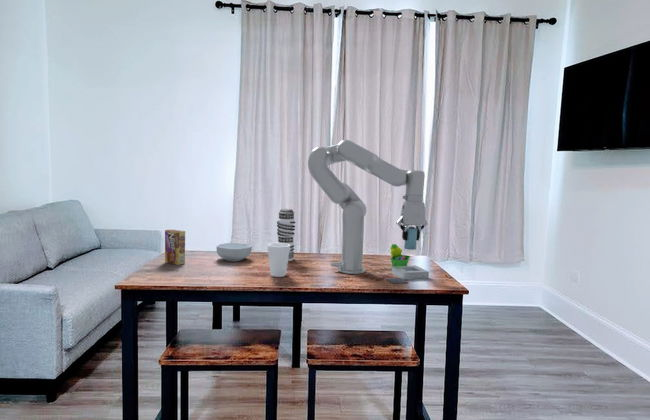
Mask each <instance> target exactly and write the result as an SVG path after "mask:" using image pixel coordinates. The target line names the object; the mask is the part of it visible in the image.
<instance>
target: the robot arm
mask: <svg viewBox="0 0 650 420" xmlns="http://www.w3.org/2000/svg"><path fill="white" fill-rule="evenodd" d="M346 161H347V162H349V163H350V164H352V165H354V166H355V167H357V168H359V169H361V170H363V171H365V172H367V173H368V174H371V175H373V176H374V177H377V178H378V179H380V180H382V181H383V182H386V183H387V184H390V185H391V186H394V187H402V186H405V194H404V195H402V200H404V201H403V202H402V207H401V211H400V217H399V219H398V220H396V223H395V224H396V225H397V226H398V228H400V229H401V231H402V234H401V237H402V240H403V241H404V242H405V241H407V237H408V232H407V228H408V227H410V226H414V227H415V228H417V241H420V237H421V232H422V231H423V229H424V228H425V227H426V226H427V225H428V222H427V220H426V205H425V202H423V201H424V189H425V188H424V187H425V177H426V176H425V172H424V170H415V169H413V170H412V169H411V170H408V169H407V170H406V169H401V168H399V167H397V166H394V165H393V164H391V163H389V162H388V161H386V160H384V159H382V158H381V157H380V156H378V155H377V154H376V153H374V152H373V151H370V150H368V149H366V148H365V147H363V146H361V145H359V144H357V143H355V142H353V140H349V139H343V140H341V141H340V142H339V143H337V144H333V145H329V146H317V147H315V148H314V149H312V150H311V152H310V154H309V156H308V160H307V166H308V171H309V173H310V176H311V177H312V178H313V180H314V181H315V182H316V183H317V185H318V186H319V187H320V189H321V190H322V191H323V192H324V193H325V195H326V196H327V197H328V198H329V200H330V201H331V202H332V203H334V204H337V205H338V206H340V208H341V209H342V219H341V220H342V233H341V234H342V238H341V239H342V244H341V259H339V261H337V262H332V261H331V263H330V267H331V268H337V271H338V272H339V273H342V274H349V275H359V274H363V273H364V274H365V273H366V268H365V267H363V258H364V257H363V255H364V238H365V237H364V233H365V229H364V228H365V216H366V215H367V206H366V204H365V203H364V202H363V200H362V199H361V198H360V197H359V196H358V194H357V193H356V192H355V191H354V190H353V188H351V186H350V185H349V184H347V183H346V182H342V181H341V180H340V179H339V178H338V177H337V176H336V175H335V173H334V172H333V171H332V170H331V169H330V168H329V166H330V165H331V166H332V165H334V164H338V163H342V162H346ZM417 241H416V242H417Z"/></svg>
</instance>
